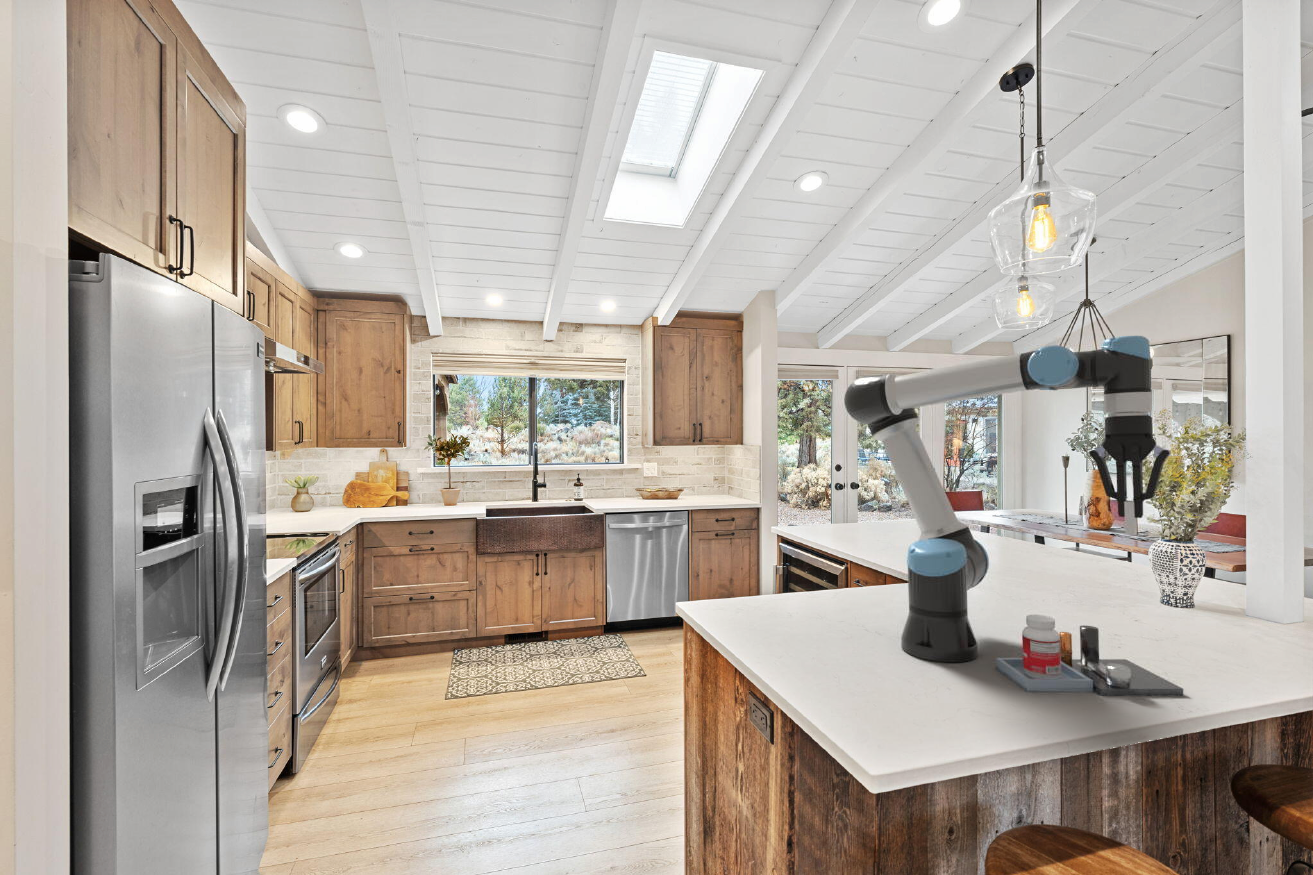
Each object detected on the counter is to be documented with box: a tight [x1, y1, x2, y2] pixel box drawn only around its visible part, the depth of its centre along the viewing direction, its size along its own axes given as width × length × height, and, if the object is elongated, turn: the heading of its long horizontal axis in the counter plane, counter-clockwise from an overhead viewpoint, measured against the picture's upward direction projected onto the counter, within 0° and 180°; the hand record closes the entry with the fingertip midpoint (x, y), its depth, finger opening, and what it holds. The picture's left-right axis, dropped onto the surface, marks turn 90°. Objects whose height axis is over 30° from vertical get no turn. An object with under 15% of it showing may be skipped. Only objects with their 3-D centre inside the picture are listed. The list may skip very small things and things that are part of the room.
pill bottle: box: [1021, 614, 1061, 679], centre depth 118 cm, size 6×6×11 cm
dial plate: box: [1058, 631, 1184, 697], centre depth 117 cm, size 14×14×7 cm
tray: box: [995, 657, 1094, 693], centre depth 118 cm, size 12×12×2 cm
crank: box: [1079, 625, 1131, 688], centre depth 116 cm, size 13×4×7 cm, turn 170°
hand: (1131, 533), depth 122 cm, fingers closed
